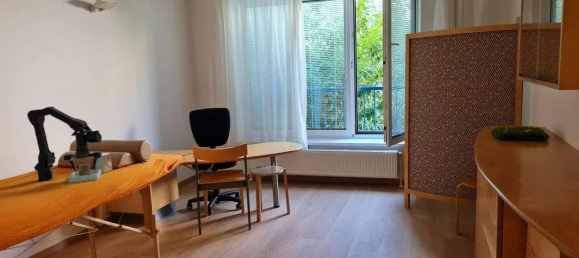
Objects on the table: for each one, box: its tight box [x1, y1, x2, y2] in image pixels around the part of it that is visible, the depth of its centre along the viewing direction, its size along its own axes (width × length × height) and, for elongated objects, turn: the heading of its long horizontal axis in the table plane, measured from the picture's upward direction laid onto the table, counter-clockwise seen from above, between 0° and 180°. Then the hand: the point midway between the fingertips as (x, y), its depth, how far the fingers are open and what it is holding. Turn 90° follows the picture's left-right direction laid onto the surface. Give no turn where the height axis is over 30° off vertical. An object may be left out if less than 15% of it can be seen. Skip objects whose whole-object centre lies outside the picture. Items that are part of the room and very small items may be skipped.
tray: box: [67, 169, 102, 184], centre depth 239 cm, size 14×14×3 cm
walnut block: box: [77, 163, 91, 176], centre depth 239 cm, size 5×5×7 cm
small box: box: [95, 152, 113, 174], centre depth 255 cm, size 8×6×10 cm
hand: (84, 170), depth 239 cm, fingers open, 9 cm apart
